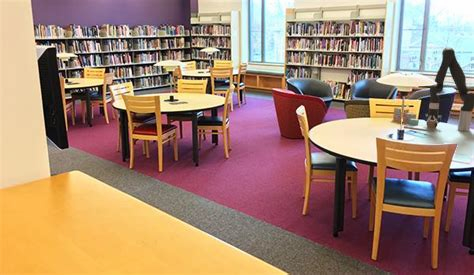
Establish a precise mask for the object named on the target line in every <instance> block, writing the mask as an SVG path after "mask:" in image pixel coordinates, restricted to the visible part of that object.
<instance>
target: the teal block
mask: <svg viewBox="0 0 474 275" xmlns="http://www.w3.org/2000/svg"><path fill="white" fill-rule="evenodd" d="M419 121H420V120H419V118H416V119H410V124H409V125H416V126H419Z"/></svg>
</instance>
